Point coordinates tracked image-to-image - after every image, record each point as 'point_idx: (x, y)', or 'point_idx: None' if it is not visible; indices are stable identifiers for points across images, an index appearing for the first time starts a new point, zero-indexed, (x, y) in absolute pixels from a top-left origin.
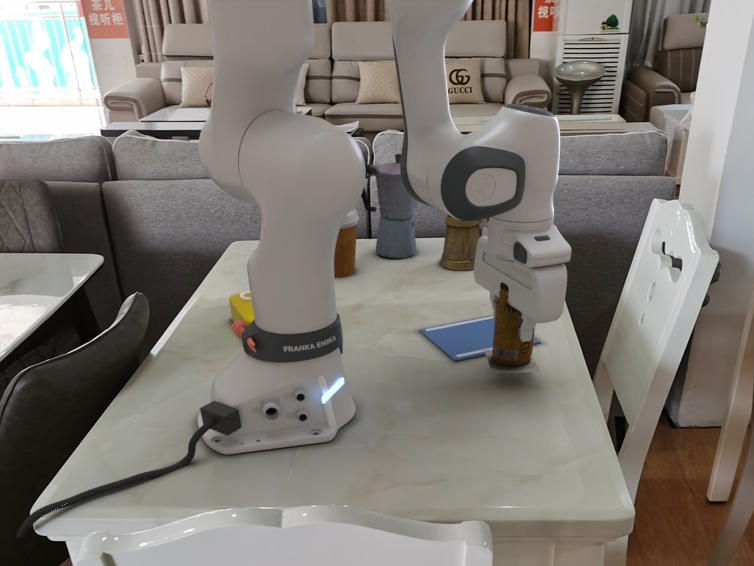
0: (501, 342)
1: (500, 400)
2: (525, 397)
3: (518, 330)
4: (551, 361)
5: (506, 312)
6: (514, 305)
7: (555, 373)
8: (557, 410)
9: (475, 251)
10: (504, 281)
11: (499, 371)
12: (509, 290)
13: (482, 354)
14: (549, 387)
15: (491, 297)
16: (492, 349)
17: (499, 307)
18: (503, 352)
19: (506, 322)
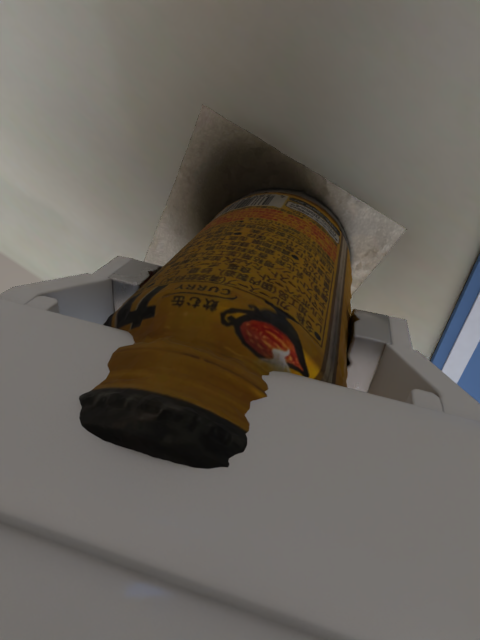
0: (231, 216)
1: (153, 86)
2: (138, 175)
3: (133, 277)
4: None
5: (150, 286)
6: (43, 317)
7: None
8: (44, 197)
9: None
10: (140, 473)
11: (198, 141)
12: (69, 397)
13: (475, 266)
14: None
15: (455, 404)
16: (473, 317)
17: (208, 290)
18: (230, 208)
19: (173, 261)
